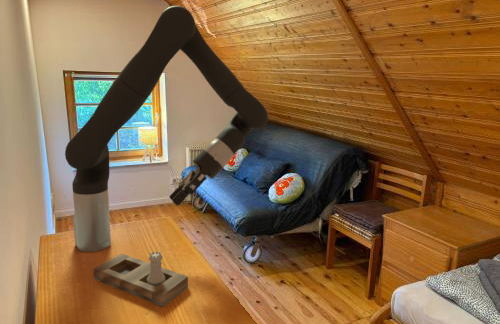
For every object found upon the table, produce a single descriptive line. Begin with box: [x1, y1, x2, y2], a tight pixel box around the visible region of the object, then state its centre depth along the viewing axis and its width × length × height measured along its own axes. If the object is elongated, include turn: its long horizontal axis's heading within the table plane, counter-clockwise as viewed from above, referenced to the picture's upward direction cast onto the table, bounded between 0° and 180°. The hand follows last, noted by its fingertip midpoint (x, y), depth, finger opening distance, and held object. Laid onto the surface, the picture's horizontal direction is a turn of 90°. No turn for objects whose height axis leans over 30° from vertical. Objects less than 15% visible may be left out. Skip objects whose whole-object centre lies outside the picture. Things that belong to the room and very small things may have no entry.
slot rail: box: [93, 253, 189, 308], centre depth 89 cm, size 22×9×3 cm, turn 62°
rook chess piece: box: [147, 251, 165, 287], centre depth 86 cm, size 4×4×8 cm
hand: (173, 201), depth 99 cm, fingers open, 8 cm apart
